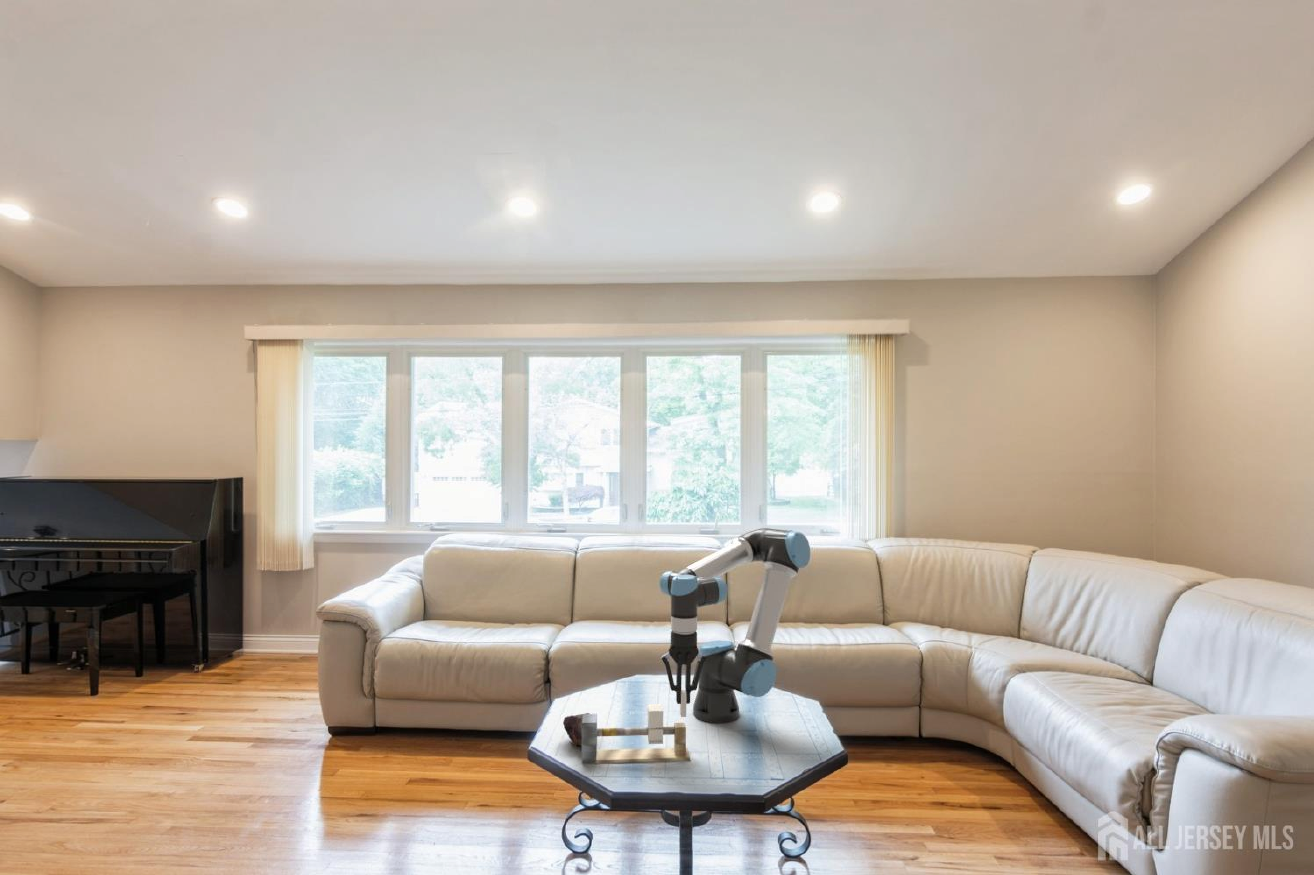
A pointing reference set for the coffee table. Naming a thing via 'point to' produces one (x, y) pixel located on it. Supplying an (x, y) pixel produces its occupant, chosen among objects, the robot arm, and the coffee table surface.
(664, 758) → the rail
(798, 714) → the coffee table surface
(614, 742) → the coffee table surface
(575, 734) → the rock
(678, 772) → the coffee table surface
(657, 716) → the sleeve
